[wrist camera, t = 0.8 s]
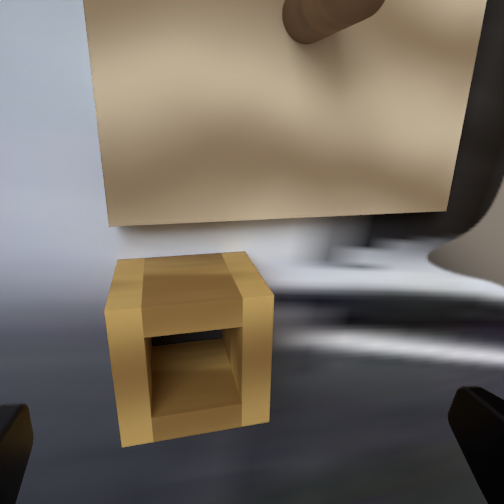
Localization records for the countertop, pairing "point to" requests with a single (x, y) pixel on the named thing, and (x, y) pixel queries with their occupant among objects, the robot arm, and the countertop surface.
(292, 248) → the countertop surface
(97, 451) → the countertop surface
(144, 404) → the wooden crate frame
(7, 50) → the countertop surface
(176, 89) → the post board
